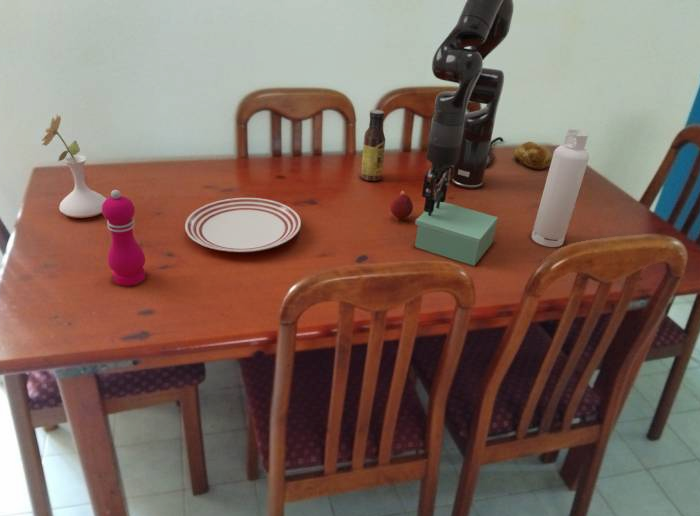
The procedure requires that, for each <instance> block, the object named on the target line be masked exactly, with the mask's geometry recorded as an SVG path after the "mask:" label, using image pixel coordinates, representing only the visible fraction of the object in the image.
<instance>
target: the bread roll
mask: <svg viewBox="0 0 700 516" xmlns="http://www.w3.org/2000/svg"><path fill="white" fill-rule="evenodd" d="M513 157H514V158H515V160H516V161H518V162H520V164H522V165H523V166H524V167H527V168H529V169H532V170H543V169H545V168H547V167H549V166H550V165H551V161H552V153H551V151H550V150H549V148H547V147H546V146H544V145H538V144H537V143H536V142H533V141H526V142H524V143H521V144H520V146H519V147H518V148H516V149H515V150H514V153H513Z"/></svg>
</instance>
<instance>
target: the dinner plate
mask: <svg viewBox="0 0 700 516" xmlns="http://www.w3.org/2000/svg"><path fill="white" fill-rule="evenodd" d="M301 225H302V221H301V218H300V215H299V214H298V213H297V212H296V210H294V209H293V208H292V207H290V206H288V205H286V204H283V203H281V202H279V201H275V200H272V199H266V198H260V197H259V198H258V197H235V198H227V199H221V200H216V201H214V202H211V203H207V204H205V205H203V206H201V207H199V208H197V209H196V210H194V211H193V212H192V213H190V214H189V216H188V217H187V219H186V220H185V224H184V230H185V232H186V234H187V236H188V237H189V238H190V239H191V240H192V241H193V242H195V243H196V244H198V245H200V246H202V247H205V248H209V249H212V250H216V251H222V252H229V253H255V252H262V251H266V250H270V249H273V248H277V247H279V246H281V245H283V244H285V243H287V242H289V241H290V240H292V239H293V238H294V237H295V236H296V235H297V234H298V233H299V231H300V230H301Z"/></svg>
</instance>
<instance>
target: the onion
mask: <svg viewBox="0 0 700 516" xmlns="http://www.w3.org/2000/svg"><path fill="white" fill-rule="evenodd" d="M389 207H390V212H391V213H392V215H393V216H394V217H395V218H396V219H397V220H398V221H402V220H404V219H406V218H408V217H410V216H411V214H413V210H414V205H413V202H412V200H411V198H410V197H409V196H408V195H407V194H406V193H405V191H403V190H401V191H400V193H399V194H398V195H396V196H395V197H393V199H392V200H391V202H390V206H389Z"/></svg>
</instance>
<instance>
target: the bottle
mask: <svg viewBox="0 0 700 516" xmlns="http://www.w3.org/2000/svg"><path fill="white" fill-rule="evenodd" d="M577 134H578V135H577ZM579 134H583V135H579ZM588 137H589V133H588V132H586V131H584V130H581V129H574V128H572V129H568V130H566V134H565V137H564V142H563V144H561V145H559V146H557V147H556V148H555V149H554V151H553V153H552V156H551V162H550V164H549V169H548V173H547V176H546V181H545V184H544V188H543V192H542V195H541V198H540V203H539V206H538V210H537V214H536V218H535V221H534V224H533V229H532V232H531V235H530V237H531V239H532V241H533V242H535V244H539V245H541V246H544V247H549V248H558V247H562V246H563V244H564V242H565V239H566V235H567V232H568V228H569V225H570V222H571V218H572V216H573V212H574V209H575V206H576V202H577V199H578V195H579V192H580V189H581V187H582V182H583V179H584V177H585V172H586V169H587V167H588V163H589V160H590V154H589V151H587V149H586V148H585V147H586V144H587V140H588Z"/></svg>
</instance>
